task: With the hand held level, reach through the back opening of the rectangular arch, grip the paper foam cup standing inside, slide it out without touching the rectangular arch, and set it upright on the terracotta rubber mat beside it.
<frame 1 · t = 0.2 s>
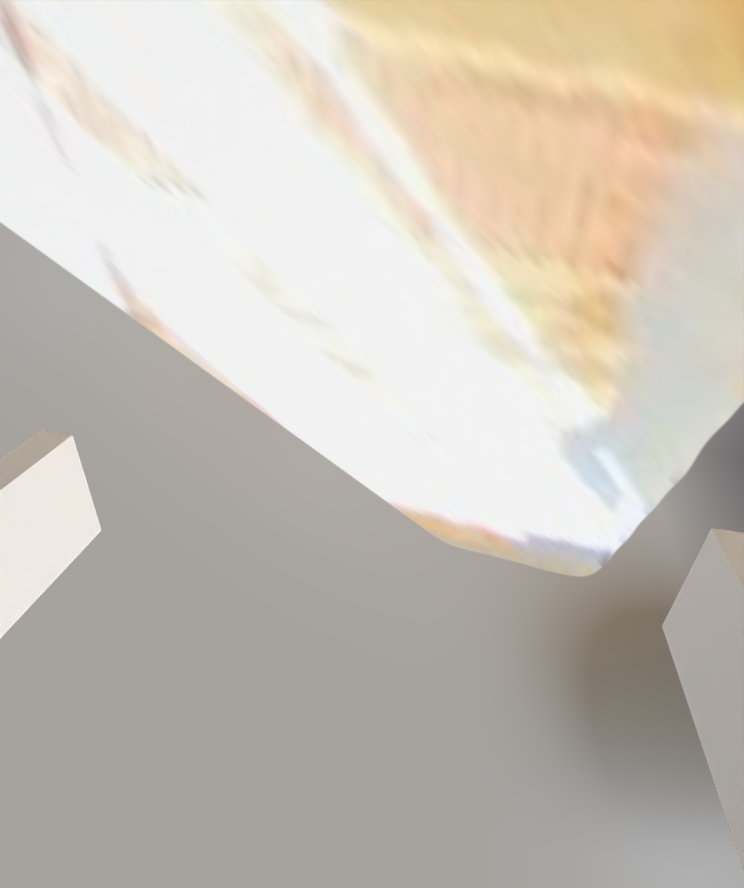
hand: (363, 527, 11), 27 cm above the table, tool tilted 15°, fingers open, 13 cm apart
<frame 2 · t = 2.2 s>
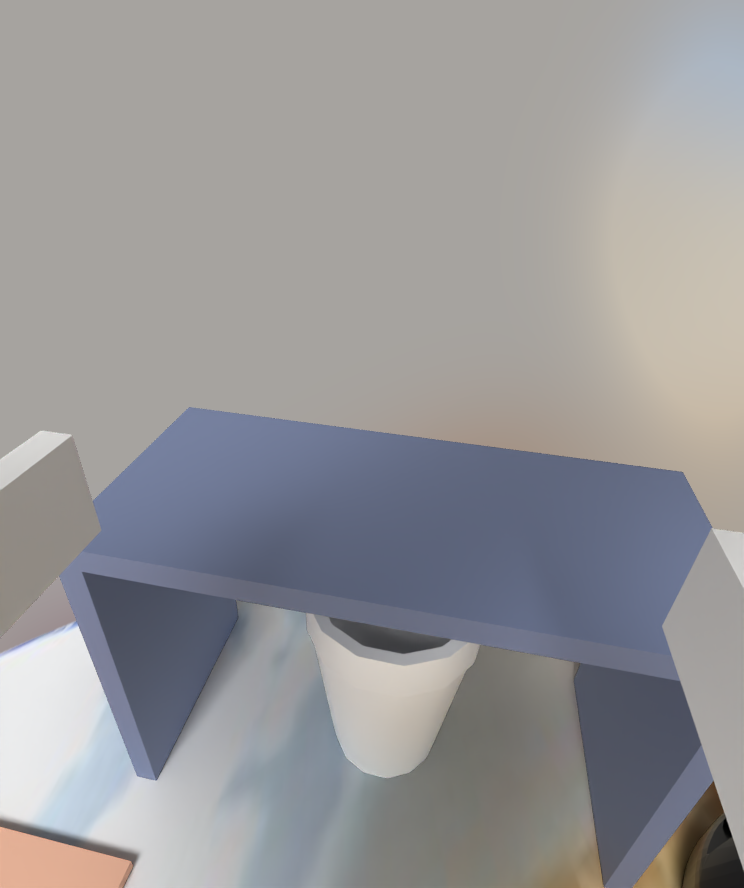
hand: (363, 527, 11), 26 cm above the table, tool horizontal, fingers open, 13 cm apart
rectangular arch: (385, 725, 34), on the table
foam cup: (384, 727, 34), on the table
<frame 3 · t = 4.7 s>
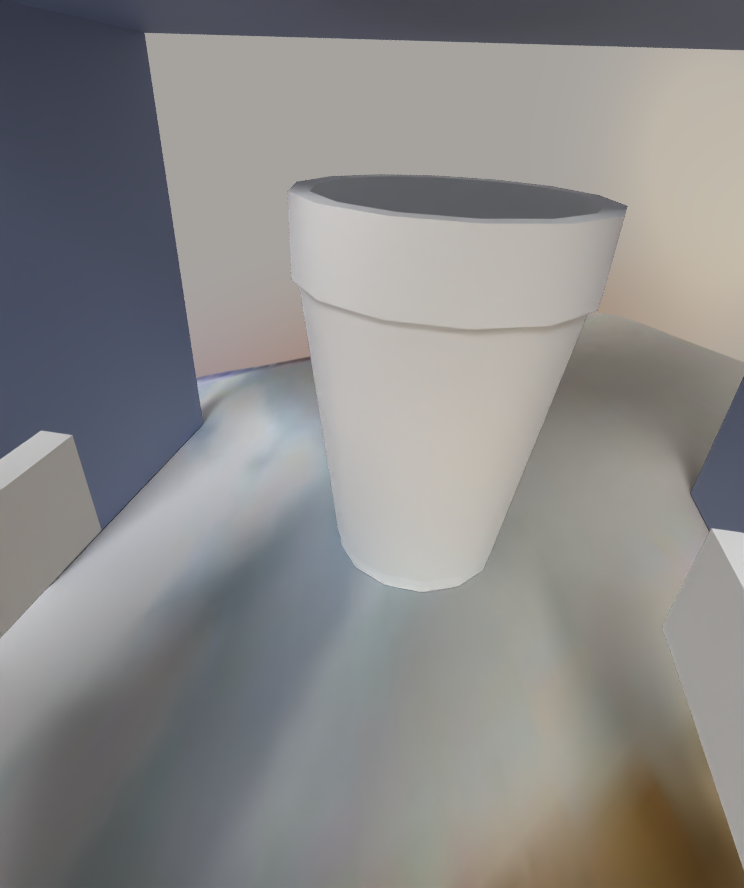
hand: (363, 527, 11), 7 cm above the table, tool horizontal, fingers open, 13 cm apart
rectangular arch: (415, 533, 22), on the table
foam cup: (415, 537, 22), on the table
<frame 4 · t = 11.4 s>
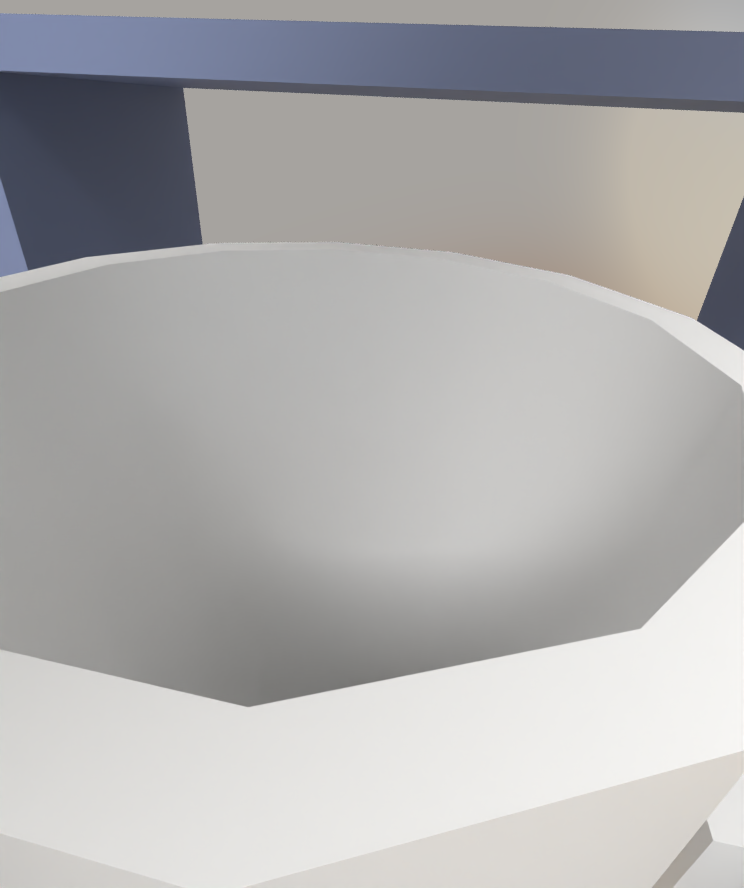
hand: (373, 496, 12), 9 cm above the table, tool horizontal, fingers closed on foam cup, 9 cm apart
rectangular arch: (408, 499, 27), on the table
foam cup: (325, 863, 13), point 1 cm above the table, touching gripper
when the fingers open (9 cm above the table, at t = 15.7 s): foam cup drops 1 cm, resting on mat.
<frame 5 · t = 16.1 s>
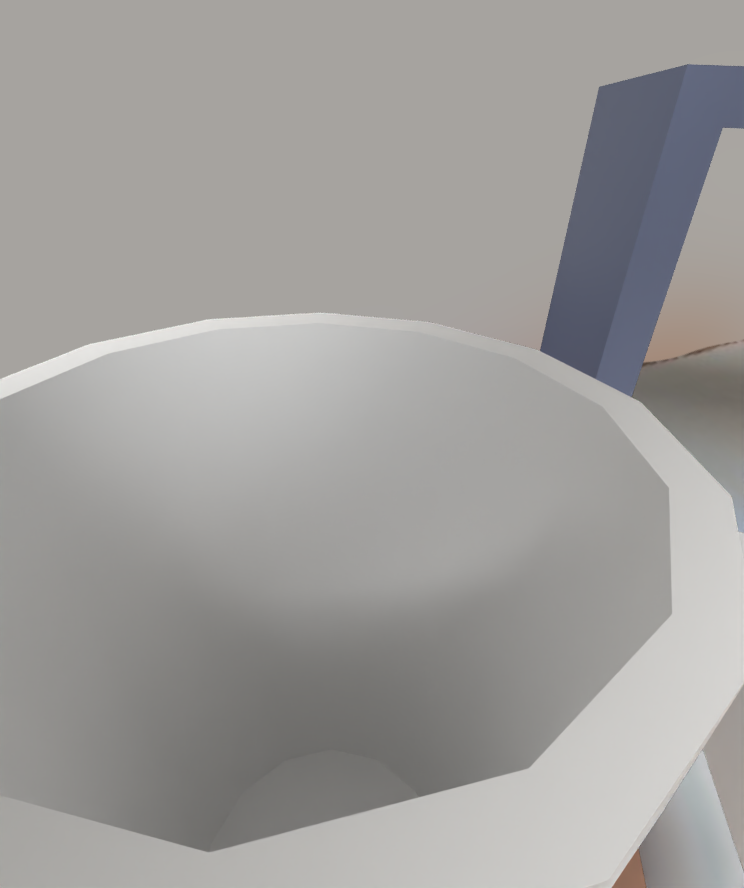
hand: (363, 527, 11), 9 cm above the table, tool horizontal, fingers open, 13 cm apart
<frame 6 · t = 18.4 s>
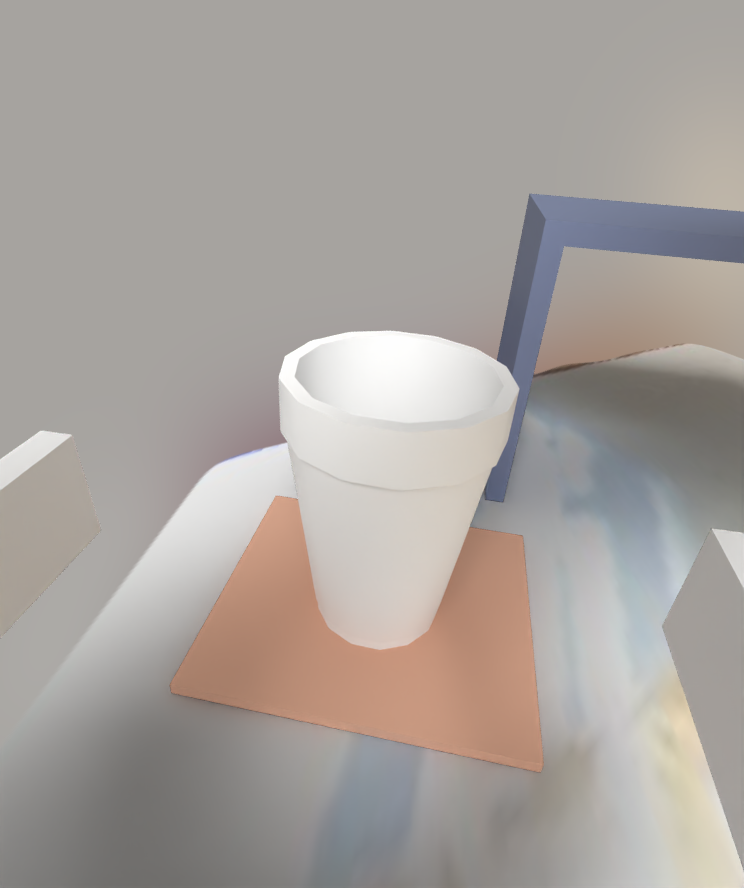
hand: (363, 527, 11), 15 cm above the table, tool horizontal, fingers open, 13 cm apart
rectangular arch: (667, 480, 40), on the table
foam cup: (377, 601, 28), resting on mat
mat: (376, 604, 28), on the table
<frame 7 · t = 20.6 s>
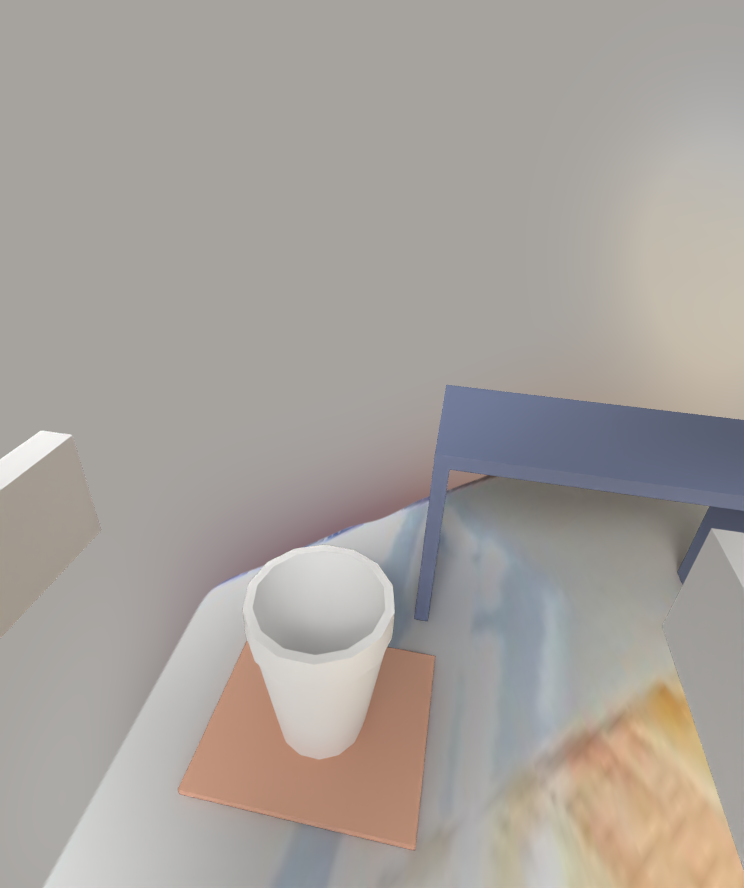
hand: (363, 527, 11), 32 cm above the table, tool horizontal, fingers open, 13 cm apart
rectangular arch: (560, 595, 52), on the table
foam cup: (322, 717, 40), resting on mat
mat: (321, 719, 40), on the table
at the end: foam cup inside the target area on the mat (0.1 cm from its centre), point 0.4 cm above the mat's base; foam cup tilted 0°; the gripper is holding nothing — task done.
